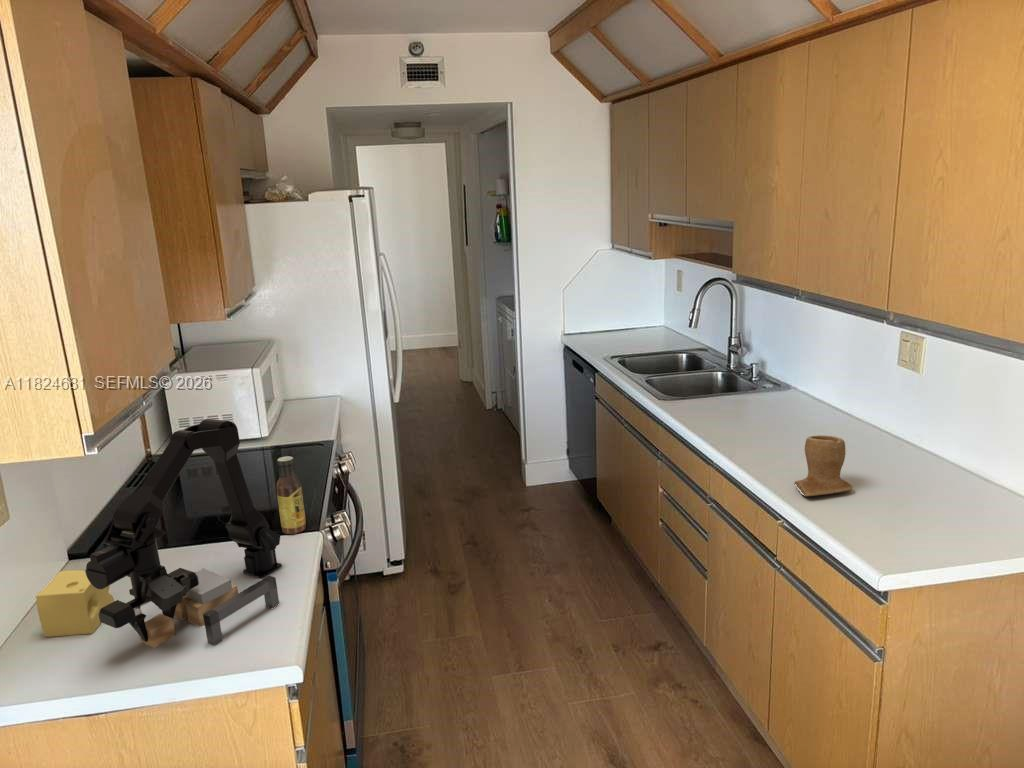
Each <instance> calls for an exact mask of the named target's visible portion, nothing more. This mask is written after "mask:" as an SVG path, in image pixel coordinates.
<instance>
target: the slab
mask: <svg viewBox="0 0 1024 768" xmlns="http://www.w3.org/2000/svg"><path fill="white" fill-rule="evenodd" d="M194 573H196V574H197V576H198V580H199V585H197V586H196V587H194V588H192V589H190V590H189V592H187V593H186V595H185V597H187V598H190V599H192V600H194V601H196V602H198V603H200V604H202V605H204V604H206V603H208V602H210V601H212V600H214V599H216V598H218V597H220V596H221V595H223V594H225V593H227V592H229V591H231V590H232V585H231V584H232V580H231V579H229V578H228V577H224V576H222V575H220V574H217V573H216V572H213V571H211V570H210V569H209V570H208V569H206V568H204V567H203V568H201V569H199V570H197V571H194Z"/></svg>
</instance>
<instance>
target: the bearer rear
mask: <svg viewBox="0 0 1024 768" xmlns="http://www.w3.org/2000/svg"><path fill="white" fill-rule="evenodd" d="M190 600H192V599H190V598H187V597H185V596H183V601H182V602H181V603H179V604H177V606H176V610H175V614H174V618H176V619H180V620H181V621H184V620H186V619H188V615H187V610H186V604H185V603H187V602H188V601H190Z"/></svg>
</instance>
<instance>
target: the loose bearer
mask: <svg viewBox="0 0 1024 768" xmlns="http://www.w3.org/2000/svg"><path fill="white" fill-rule="evenodd" d="M145 626H146V630H147V634H148V641H147V642H145V641H143V639H142V638H141V637H140V636H139V637H140V642H141V643H142V644H144V645H146V646H149V647H151V648H156V647H158V646H159V645H161V644H162V643H164V642H166V641H167V640H169V639H171V638H173V637H175V636H176V630H175V624H174V619H173V618H170V617H168V616H165V615H163V613H162V614H161V613H159V614H157V615H155V616H154V617H152V618H150V619H148V620H146V621H145Z"/></svg>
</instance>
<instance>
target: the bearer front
mask: <svg viewBox="0 0 1024 768" xmlns="http://www.w3.org/2000/svg"><path fill="white" fill-rule="evenodd" d="M231 585H232V590H231V591H229V592H227V593H225V594H223V595H221V596H220V597H218V598H216V599H214V600H212V601H210V602H208V603H206V604H204V605H202V604H200V603H198V602H196V601H194V600H190V601H188V602H187V603H185V604H186V610H187V615H188V617H187V620H188V623H190V624H193V625H196V626H198V627H200V628H202V627H203V626H205V623H204V618H203V614H204V613H206V612H208V611H209V610H211V609H213V608H214V607H216V606H218V605H220V604H221V603H223V602H225V601H226V600H228V599H230V598H231V597H233V596H235V595H237V594H238V593H239V591H238V590H239V589H238V585H237V584H233V583H231Z"/></svg>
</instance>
